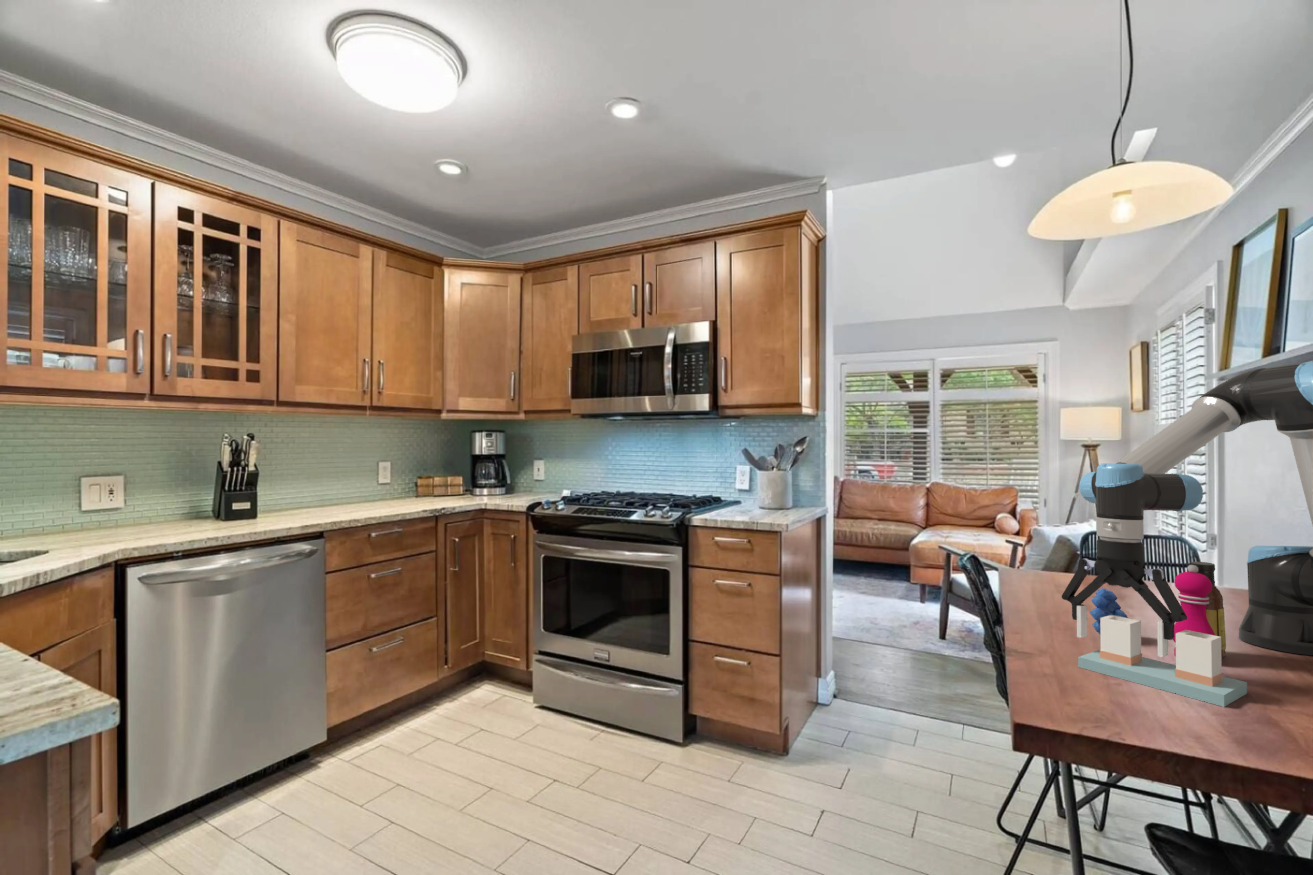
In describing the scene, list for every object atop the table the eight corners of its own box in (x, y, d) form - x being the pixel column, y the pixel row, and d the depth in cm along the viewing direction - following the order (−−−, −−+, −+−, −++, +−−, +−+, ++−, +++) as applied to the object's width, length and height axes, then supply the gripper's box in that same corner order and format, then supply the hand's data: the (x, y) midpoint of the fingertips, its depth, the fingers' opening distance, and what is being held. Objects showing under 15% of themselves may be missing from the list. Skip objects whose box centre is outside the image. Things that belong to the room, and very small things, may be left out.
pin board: (1105, 657, 126) (1104, 628, 126) (1247, 693, 107) (1246, 659, 107) (1078, 666, 120) (1078, 636, 120) (1224, 706, 101) (1223, 671, 101)
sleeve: (1111, 653, 122) (1111, 614, 123) (1142, 661, 118) (1141, 620, 118) (1099, 657, 119) (1099, 617, 120) (1130, 665, 115) (1130, 624, 115)
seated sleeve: (1185, 672, 112) (1185, 629, 112) (1222, 681, 108) (1221, 636, 108) (1175, 676, 109) (1174, 633, 110) (1212, 686, 105) (1211, 640, 105)
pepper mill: (1177, 661, 124) (1176, 565, 125) (1167, 651, 131) (1166, 560, 131) (1222, 667, 121) (1221, 569, 122) (1210, 657, 127) (1209, 563, 128)
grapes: (1118, 648, 133) (1117, 594, 133) (1083, 639, 138) (1083, 588, 139) (1138, 639, 139) (1137, 588, 139) (1104, 632, 145) (1103, 583, 145)
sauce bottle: (1210, 650, 132) (1208, 560, 133) (1234, 659, 126) (1233, 565, 127) (1178, 648, 133) (1177, 559, 134) (1201, 657, 127) (1200, 564, 127)
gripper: (1043, 533, 128) (1043, 631, 127) (1192, 549, 107) (1194, 668, 106) (1060, 531, 132) (1060, 627, 131) (1207, 546, 111) (1209, 661, 110)
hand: (1120, 645), depth 119 cm, fingers open, 13 cm apart
